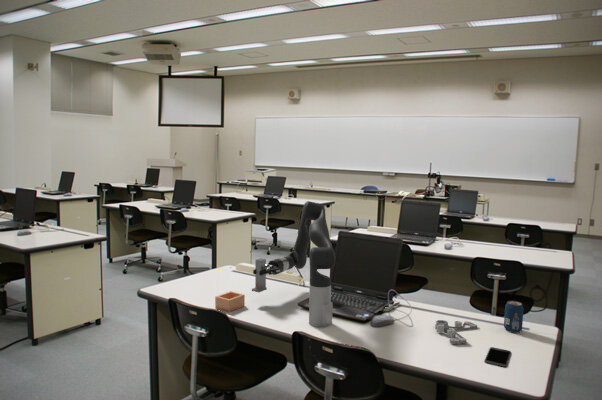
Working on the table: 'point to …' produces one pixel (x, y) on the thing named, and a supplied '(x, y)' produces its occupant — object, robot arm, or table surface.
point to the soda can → (513, 316)
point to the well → (229, 301)
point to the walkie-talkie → (391, 307)
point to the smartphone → (498, 357)
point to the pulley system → (453, 330)
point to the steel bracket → (260, 276)
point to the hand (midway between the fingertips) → (256, 272)
